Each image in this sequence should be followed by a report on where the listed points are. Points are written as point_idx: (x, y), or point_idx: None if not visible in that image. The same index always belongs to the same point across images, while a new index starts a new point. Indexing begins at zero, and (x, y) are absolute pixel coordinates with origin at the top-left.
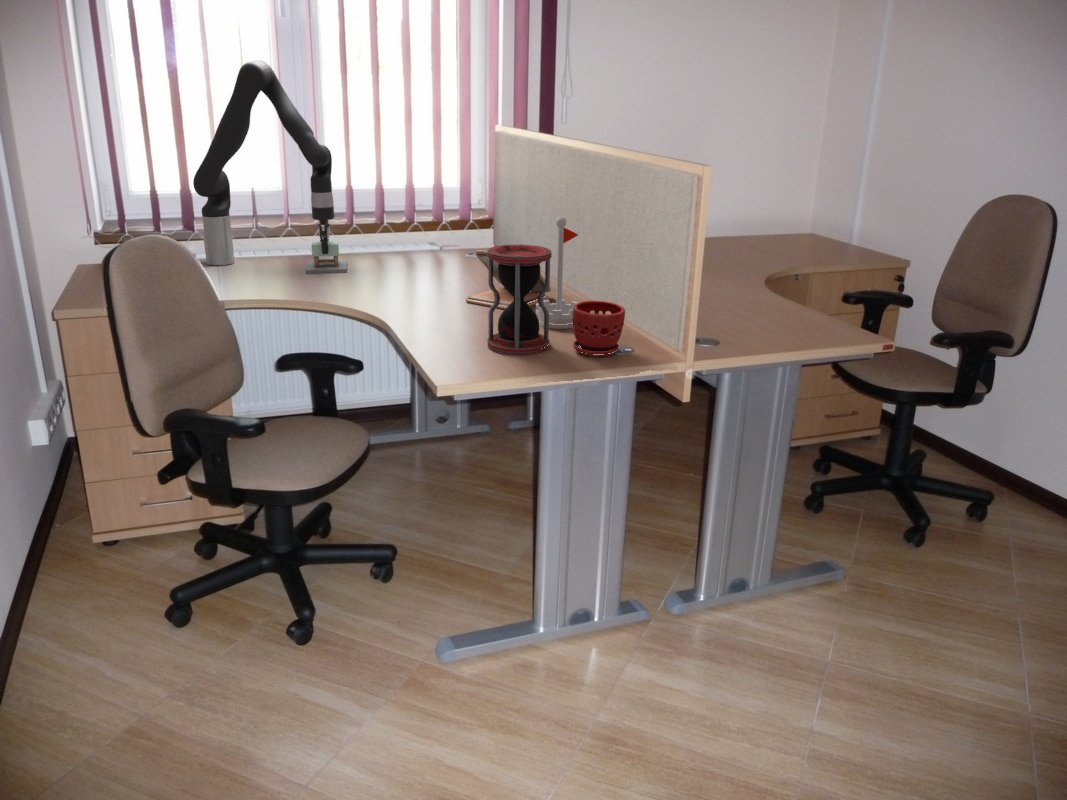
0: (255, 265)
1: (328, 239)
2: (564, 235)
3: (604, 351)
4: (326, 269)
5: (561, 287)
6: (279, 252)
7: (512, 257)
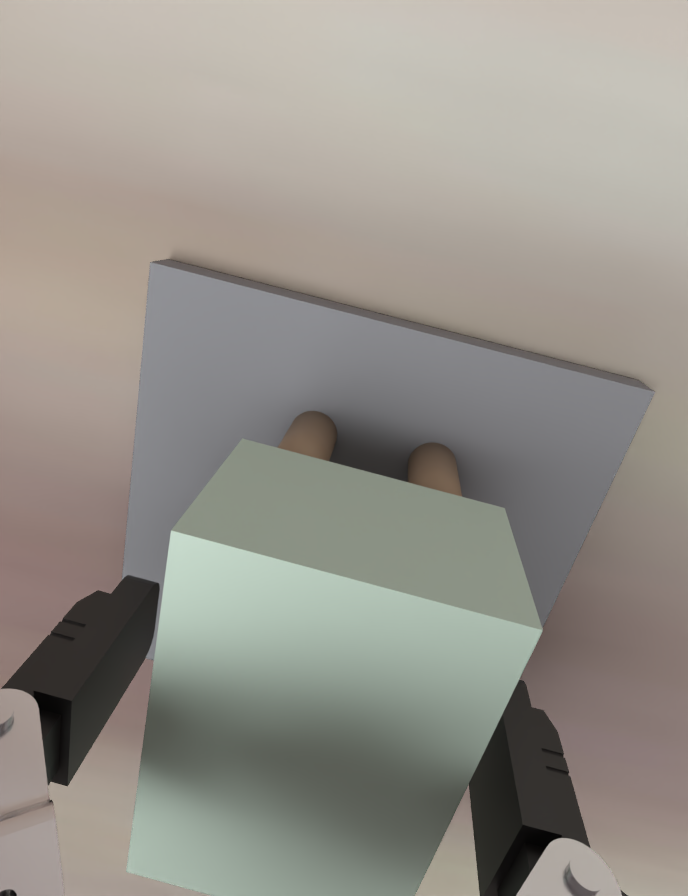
0: (67, 891)
1: (75, 695)
2: None
3: None
4: (548, 592)
5: None
6: None
7: None
